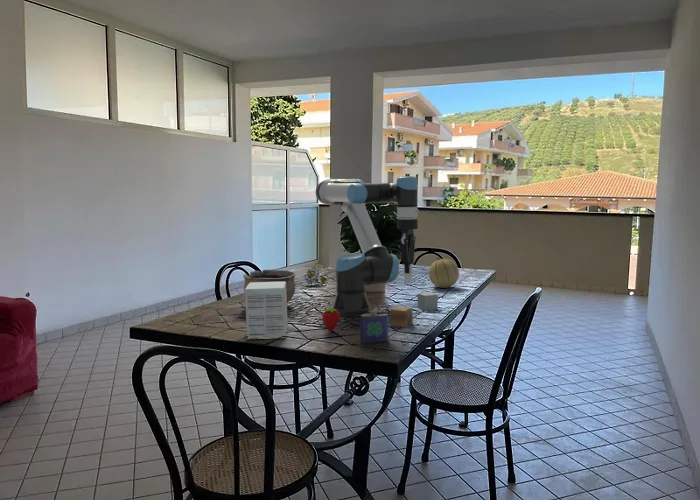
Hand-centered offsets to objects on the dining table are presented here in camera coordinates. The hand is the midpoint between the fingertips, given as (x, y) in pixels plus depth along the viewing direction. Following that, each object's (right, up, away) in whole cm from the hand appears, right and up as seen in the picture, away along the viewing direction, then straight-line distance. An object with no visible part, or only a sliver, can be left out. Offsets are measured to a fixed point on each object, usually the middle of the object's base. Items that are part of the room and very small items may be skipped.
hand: (408, 281), depth 192 cm
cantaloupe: (+25, -7, +63) cm, 68 cm away
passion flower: (-40, -7, +78) cm, 88 cm away
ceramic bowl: (-56, -13, +26) cm, 63 cm away
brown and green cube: (-1, -12, -3) cm, 13 cm away
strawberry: (-28, -17, -14) cm, 36 cm away
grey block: (+10, -12, +20) cm, 26 cm away
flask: (-14, -18, -26) cm, 35 cm away
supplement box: (-50, -18, -15) cm, 55 cm away
